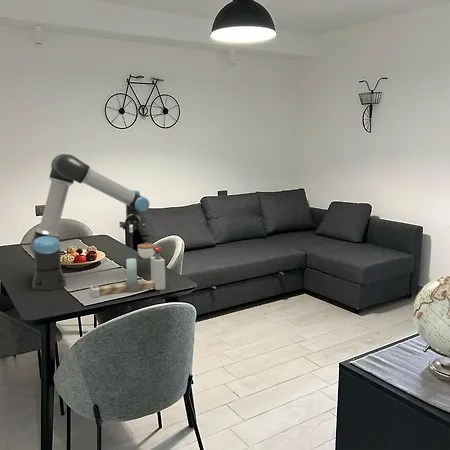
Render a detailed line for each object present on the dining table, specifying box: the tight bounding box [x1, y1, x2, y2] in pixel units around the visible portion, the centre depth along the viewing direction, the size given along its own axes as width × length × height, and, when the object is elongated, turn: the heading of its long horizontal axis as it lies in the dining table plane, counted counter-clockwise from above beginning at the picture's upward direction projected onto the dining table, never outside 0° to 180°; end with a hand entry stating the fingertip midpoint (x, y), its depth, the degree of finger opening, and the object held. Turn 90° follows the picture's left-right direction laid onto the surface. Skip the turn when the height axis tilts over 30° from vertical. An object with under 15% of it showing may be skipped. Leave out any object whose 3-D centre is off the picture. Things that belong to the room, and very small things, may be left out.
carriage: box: [124, 257, 140, 290], centre depth 214 cm, size 5×6×13 cm
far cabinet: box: [150, 256, 166, 291], centre depth 219 cm, size 4×9×14 cm, turn 24°
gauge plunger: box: [153, 246, 162, 260], centre depth 218 cm, size 4×4×11 cm
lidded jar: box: [137, 241, 156, 260], centre depth 279 cm, size 11×11×9 cm
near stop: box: [89, 284, 100, 299], centre depth 208 cm, size 3×7×4 cm, turn 24°
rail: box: [98, 279, 155, 296], centre depth 214 cm, size 26×4×3 cm, turn 114°
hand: (130, 229), depth 218 cm, fingers closed
